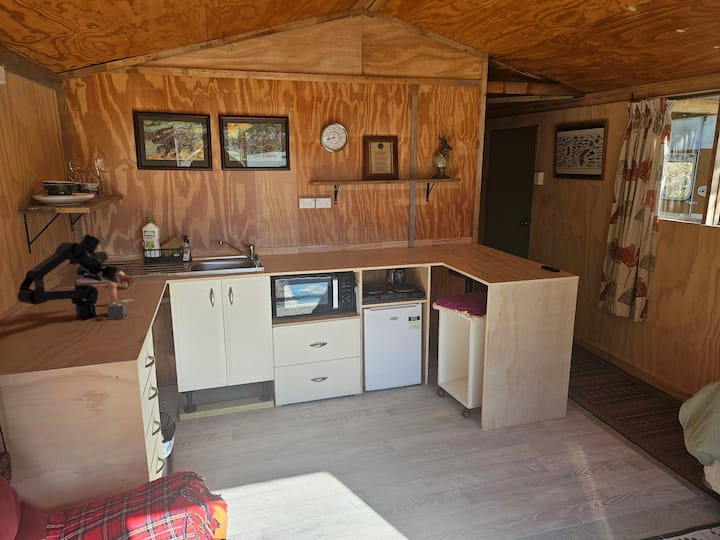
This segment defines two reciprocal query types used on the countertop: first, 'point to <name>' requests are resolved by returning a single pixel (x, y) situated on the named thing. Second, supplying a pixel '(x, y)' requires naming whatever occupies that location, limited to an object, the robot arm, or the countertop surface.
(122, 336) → the countertop surface
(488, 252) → the countertop surface
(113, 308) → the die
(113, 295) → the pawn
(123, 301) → the game board
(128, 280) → the bull figurine
